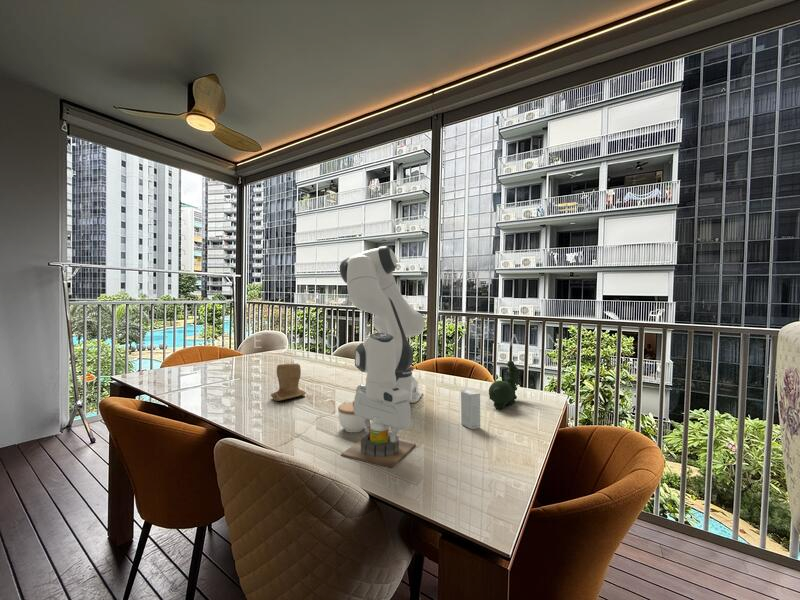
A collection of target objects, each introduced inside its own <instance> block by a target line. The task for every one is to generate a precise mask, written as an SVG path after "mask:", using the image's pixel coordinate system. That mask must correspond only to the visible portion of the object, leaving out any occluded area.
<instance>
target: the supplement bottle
mask: <svg viewBox="0 0 800 600" xmlns="http://www.w3.org/2000/svg"><path fill="white" fill-rule="evenodd" d="M389 430H390V426H387V425H384V424H381V419H380V418H377V417H375V416H373V421H372V422H371V425H370V442H373V443H386V442H388V435H389Z"/></svg>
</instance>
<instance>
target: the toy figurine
mask: <svg viewBox="0 0 800 600" xmlns="http://www.w3.org/2000/svg"><path fill="white" fill-rule="evenodd" d="M506 363H507V367H508V371H507V378H506V381H504V380H497V381H494V382H493V383H492V384H491V385H490V386H489V388H488V396H489V400H491V401H492V402H493V407H494V408H495V409H497V410H503V409H504V408H505V405H506V404H507V406H512V405H515V403H516V400H517V397H518V396H517V394H516V391H518V387H517V383H519V380H518V379H517V377H518V376H519V372H517V371H518V367H517V366H516V365H515V362H514V361H513V360H508V361H507V362H506Z"/></svg>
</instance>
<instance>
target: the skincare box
mask: <svg viewBox="0 0 800 600" xmlns="http://www.w3.org/2000/svg"><path fill="white" fill-rule="evenodd" d="M460 412H461V413H460V414H461V415H460V417H461V421H460V422H461V425H462V426H464V427H466V428H468V429H470V430H477V429H481V393H479V392H477V391H474V390H472V389H466V390H461V391H460Z"/></svg>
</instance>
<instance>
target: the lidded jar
mask: <svg viewBox="0 0 800 600" xmlns="http://www.w3.org/2000/svg"><path fill="white" fill-rule="evenodd" d="M337 409H338V411H337V412H338V420H339V424H340V426H341V427H342V428H343V429H344V431H345V432H347V433H352V432H353V433H354V432H355V433H359V432H362V431H363V430H364V429H365V425H364V423H363V417H360V416H357V415H355V413H354V411H353V409H354V400H353V401H349V402H344V403H341V404H339V405H338V407H337Z"/></svg>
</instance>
